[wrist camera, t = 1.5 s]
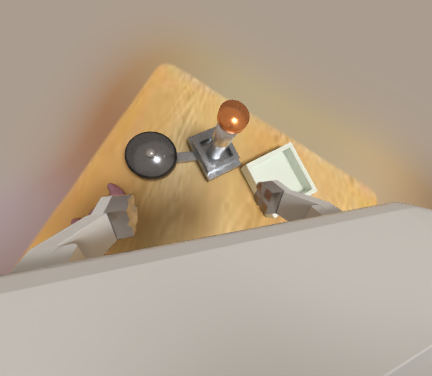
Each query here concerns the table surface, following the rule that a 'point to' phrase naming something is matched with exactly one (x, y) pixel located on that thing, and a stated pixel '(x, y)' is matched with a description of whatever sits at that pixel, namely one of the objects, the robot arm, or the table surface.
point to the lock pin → (227, 127)
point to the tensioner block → (206, 163)
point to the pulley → (151, 155)
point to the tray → (279, 171)
